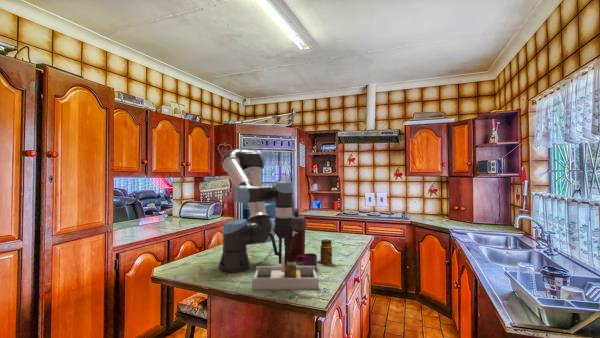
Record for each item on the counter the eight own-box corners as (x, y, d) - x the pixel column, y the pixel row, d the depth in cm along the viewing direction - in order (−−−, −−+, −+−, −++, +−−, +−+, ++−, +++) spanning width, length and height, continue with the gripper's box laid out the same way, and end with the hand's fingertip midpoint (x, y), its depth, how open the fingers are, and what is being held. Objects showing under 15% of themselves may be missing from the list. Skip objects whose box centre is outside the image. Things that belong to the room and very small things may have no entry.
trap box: (252, 289, 112) (252, 279, 112) (256, 274, 128) (256, 266, 128) (318, 288, 113) (318, 278, 114) (314, 274, 129) (314, 265, 129)
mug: (315, 271, 133) (315, 257, 133) (295, 269, 136) (295, 255, 136) (317, 267, 140) (318, 253, 140) (298, 265, 142) (299, 252, 142)
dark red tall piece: (285, 255, 159) (286, 206, 159) (304, 256, 157) (305, 207, 158) (282, 260, 150) (282, 208, 150) (302, 261, 148) (303, 209, 149)
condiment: (334, 264, 144) (334, 241, 144) (318, 266, 142) (319, 242, 142) (329, 260, 151) (329, 238, 151) (314, 261, 149) (315, 239, 149)
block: (284, 277, 118) (284, 265, 118) (284, 273, 123) (284, 262, 123) (296, 277, 119) (296, 265, 119) (295, 273, 124) (295, 262, 124)
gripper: (268, 218, 117) (267, 274, 117) (298, 218, 118) (298, 274, 117) (269, 215, 125) (268, 268, 124) (298, 215, 125) (297, 268, 125)
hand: (282, 271), depth 121 cm, fingers closed
